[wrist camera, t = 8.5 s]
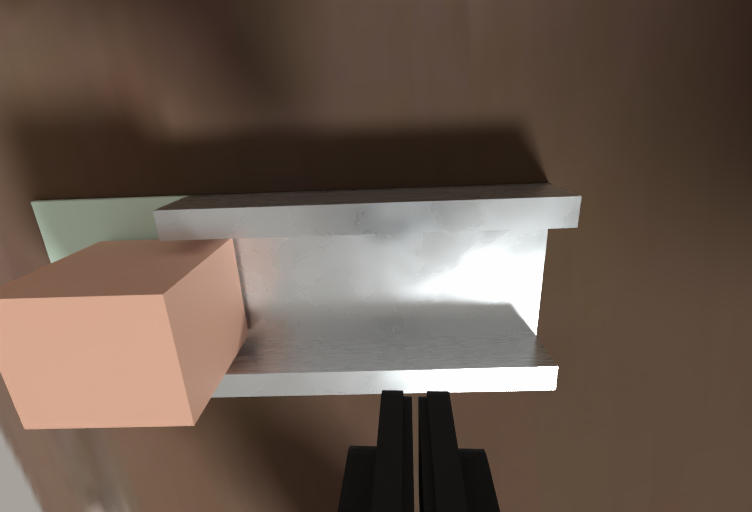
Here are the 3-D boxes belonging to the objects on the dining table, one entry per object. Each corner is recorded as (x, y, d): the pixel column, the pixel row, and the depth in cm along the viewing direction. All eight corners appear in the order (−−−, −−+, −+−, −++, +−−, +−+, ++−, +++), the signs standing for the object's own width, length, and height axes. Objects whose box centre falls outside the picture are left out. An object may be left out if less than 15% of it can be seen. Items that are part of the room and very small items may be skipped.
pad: (189, 195, 18) (185, 196, 18) (221, 359, 21) (218, 362, 20) (36, 200, 18) (30, 201, 18) (89, 362, 21) (85, 365, 21)
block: (232, 236, 18) (162, 294, 12) (248, 335, 19) (194, 425, 14) (100, 241, 18) (-30, 299, 12) (127, 337, 20) (24, 429, 14)
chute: (549, 182, 17) (581, 196, 15) (530, 351, 20) (554, 389, 18) (189, 195, 18) (152, 210, 15) (221, 359, 21) (195, 397, 18)
